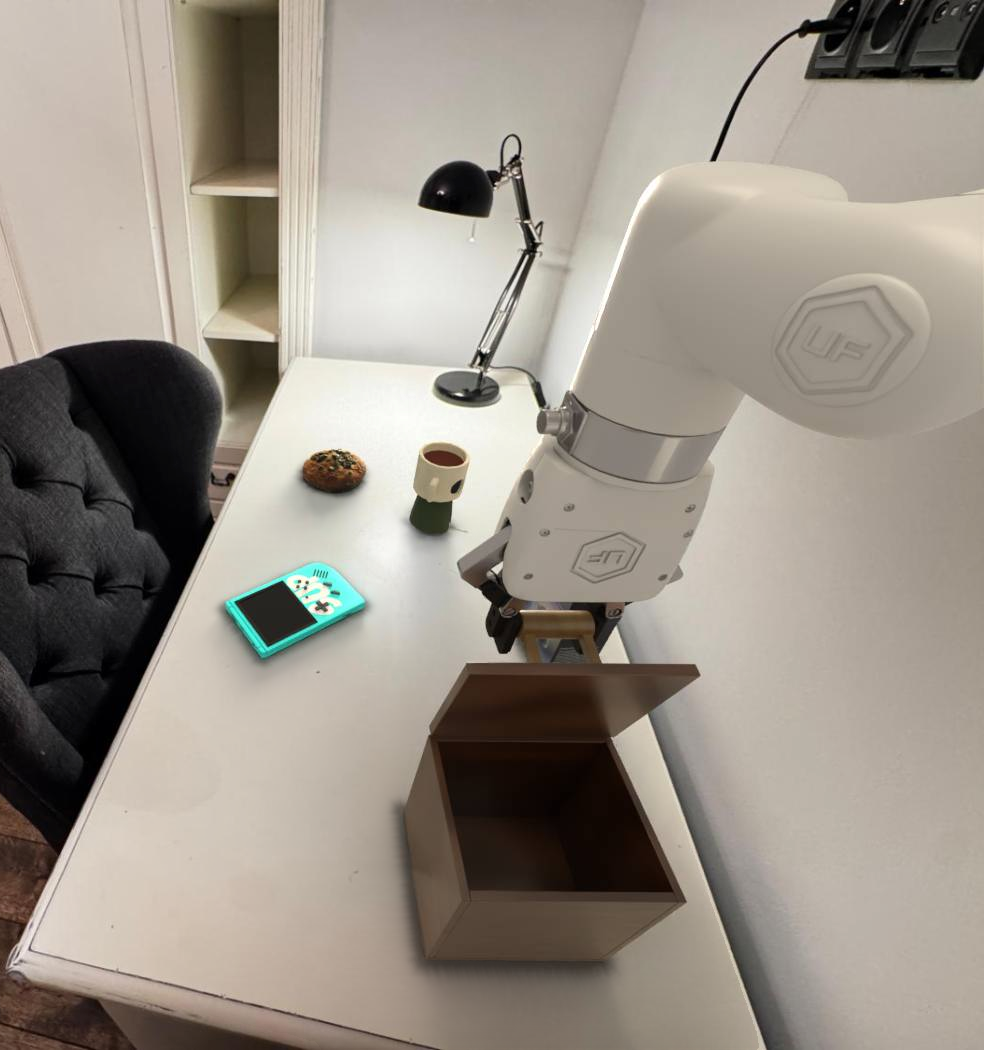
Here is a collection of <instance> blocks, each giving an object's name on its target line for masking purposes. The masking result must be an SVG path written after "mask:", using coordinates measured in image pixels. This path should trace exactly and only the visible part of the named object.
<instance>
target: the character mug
mask: <svg viewBox="0 0 984 1050" xmlns="http://www.w3.org/2000/svg"><path fill="white" fill-rule="evenodd" d="M417 456H418V457H417V462H416V466H415V472H414V477H413V484H412V488H413V490H414V492H415V493H416V494H417V495H416V497H415V499H414V502H413V505H412V507H411V509H410V510H411V511H410V514H409V517H408V520H409V522H410V523H409V524H410V525H412V526H413V527H414V528H415V529H416V530H419V531H421V532H423V533H426V534H430V535H433V536H434V535H442V534H444V533H446V532H447V531H449V529H450V525H451V523H452V515H453V504H454V503H453V501H455V500H457V499H459V498H460V496H461V494H462V493H463V490H464V485H465V482H466V478H467V477H466V476H467V473H468V470H469V465H470V463H471V456H470V453H469V452H468V451H467V449H465V448H464V447H462V446H460V445H459V444H456V443H452V442H450V441H443V440H439V441H437V440H436V441H430V442H426V443H424V444H423V445H422V446H421V447H420V448H419V451H418V455H417Z"/></svg>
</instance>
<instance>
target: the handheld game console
mask: <svg viewBox="0 0 984 1050" xmlns="http://www.w3.org/2000/svg"><path fill="white" fill-rule="evenodd" d="M365 603H366V601H365V599H364V597H362V595H361V594H360V593H359V592H357V591H356V589H354V588H353V586H352V585H351V584H350V583H349V582H348V581H347V580H346V579H345V578H344V577H343V576H342V575H341V574H340V573H339V572H338V571H336V570H335V569H334V568H332V567H330V565H327V564H325V563H321V562H312V563H310V564H307V565H305V566H303V567H301V568H297V569H296V570H294V571H291V572H289V573H287V574H285V575H283V576H280V577H278V578H276V579H273V580H271V581H269V582H266V583H264V584H262V585H259V586H258V587H255V588H253V589H251V590H248V591H246V592H244V593H242V594H239V595H238V596H234V597H233V598H230V599H229V600H227V601H225V609H226V611H227V613H228V614H229V615H230V617H231V618H232V620H233V621H234V622H235V624H236V625H237V627H238V628H239V629H240V631H241V632H242V634H243V635H244V636H245V638H246V639H247V640H248V642H249V643H250V644H251V646H252V647H253V649H254V651H256V653H257V654H258V656H259V657H260V658H261V659H266V658H268V657H270V656H272V655H274V654H276V653H278V652H280V651H281V650H284V649H286V648H287V647H291V646H292V645H294V644H295V643H297V642H299V641H302V640H304V639H305V638H307V637H309V636H311V635H314V634H315V633H317V632H320V631H322V630H323V629H325V628H328V627H329V626H331V625H333V624H335V623H337V622H339V621H341V620H343V619H344V618H346V617H349V616H351V615H352V614H354V613H357V612H358V611H359V612H360V610H362V609H364V608H365Z"/></svg>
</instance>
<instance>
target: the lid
mask: <svg viewBox="0 0 984 1050" xmlns="http://www.w3.org/2000/svg"><path fill="white" fill-rule="evenodd" d="M520 614H521V616H522V619H523V622H522V625H521V627H520V630H519V632H518V634H517V637H516V639H519V640H521V641H522V644H523V645H522V646H523V648H524V652H525V656H526V659H527V662H501V661H499V662H497V661H496V662H495V661H494V662H493V661H492V662H489V661H487V662H485V661H483V662H482V661H481V662H480V661H479V662H478V661H477V662H476V661H475V662H474V661H468V662H466V663H465V664H464V666H463V668H462V670H461V672H460V673H459V675H458V677H457V678H456V680H455V682H454V683H453V684H452V687H451V688H450V690H449V692H448V693H447V695H446V696H445V698H444V700H443V702H442V704H441V705H440V706H439V709H438V710H437V712H436V713H435V715H434V717H433V718H432V720H431V722H430V724H429V725H428V728H429V734H430V735H431V736H508V737H611V738H615V737H617V736H618V735H620V734H621V733H622V732H624V731H625V730H627V729H628V728H629V727H631V726H632V725H634V724H635V723H636V722H638V721H639V720H641V719H642V718H644V717H645V716H647V715H648V714H649V713H651V712H653V710H655V709H657V708H658V707H659V706H661V705H662V704H663V703H665V702H666V701H668V700H669V699H670V698H672V697H673V696H675V695H676V694H677V693H679V692H681V691H682V690H684V689H685V688H686V687H688V686H689V685H690V684H691V683H693V682H695V681H696V680H697V679H699V678H700V677H701V673H700V670H699V668H698V666H697V664H696V663H627V662H626V663H623V662H622V663H618V662H617V663H616V662H615V663H614V662H613V663H612V662H606V663H605V662H602V659H601V657H600V654H599V653H598V651H597V648H596V645H595V642H594V640H593V635H594V632H595V622H594V619H593V616H592V614H591V613H590V612H588V611H562V610H520ZM536 639H579V642H580V645H581V648H582V651H583V653H584V656H585V659H586V662H587V663H543V662H542V659H541V656H540V652H539V649H538V645H537V642H536Z"/></svg>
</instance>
